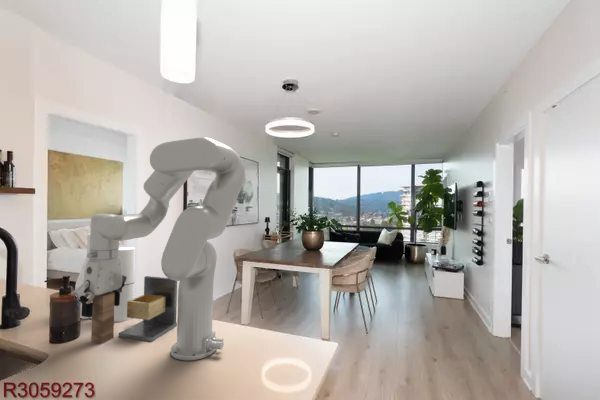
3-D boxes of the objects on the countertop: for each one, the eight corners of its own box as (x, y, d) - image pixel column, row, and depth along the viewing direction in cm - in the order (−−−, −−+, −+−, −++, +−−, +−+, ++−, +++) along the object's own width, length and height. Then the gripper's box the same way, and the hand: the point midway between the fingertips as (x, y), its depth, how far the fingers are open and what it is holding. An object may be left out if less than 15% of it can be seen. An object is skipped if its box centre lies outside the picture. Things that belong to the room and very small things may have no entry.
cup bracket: (176, 326, 103) (177, 278, 103) (152, 341, 91) (153, 288, 91) (146, 322, 106) (147, 275, 106) (118, 336, 94) (120, 284, 94)
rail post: (113, 337, 93) (114, 292, 93) (102, 343, 89) (103, 296, 89) (102, 336, 94) (103, 291, 94) (91, 342, 90) (92, 295, 90)
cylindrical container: (115, 323, 104) (117, 250, 104) (107, 318, 108) (109, 248, 108) (137, 317, 110) (139, 248, 110) (128, 312, 114) (130, 246, 114)
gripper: (88, 260, 83) (85, 323, 82) (136, 251, 99) (133, 303, 99) (66, 258, 84) (63, 319, 84) (117, 249, 101) (114, 300, 101)
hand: (101, 310), depth 92 cm, fingers open, 9 cm apart
